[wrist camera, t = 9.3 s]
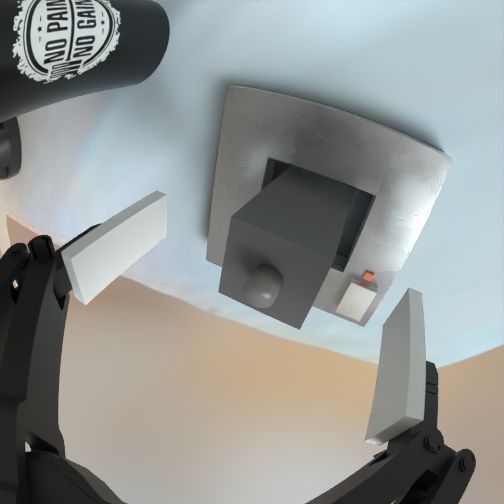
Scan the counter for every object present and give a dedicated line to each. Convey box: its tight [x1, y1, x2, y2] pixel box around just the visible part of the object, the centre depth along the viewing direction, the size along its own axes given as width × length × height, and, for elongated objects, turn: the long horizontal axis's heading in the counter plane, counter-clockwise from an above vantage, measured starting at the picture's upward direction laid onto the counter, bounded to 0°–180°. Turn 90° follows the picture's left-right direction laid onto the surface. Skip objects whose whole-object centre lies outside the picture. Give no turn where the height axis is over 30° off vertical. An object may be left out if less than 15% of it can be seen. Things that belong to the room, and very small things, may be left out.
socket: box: [206, 86, 452, 327], centre depth 18 cm, size 14×14×3 cm
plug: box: [218, 165, 355, 330], centre depth 16 cm, size 4×4×10 cm
